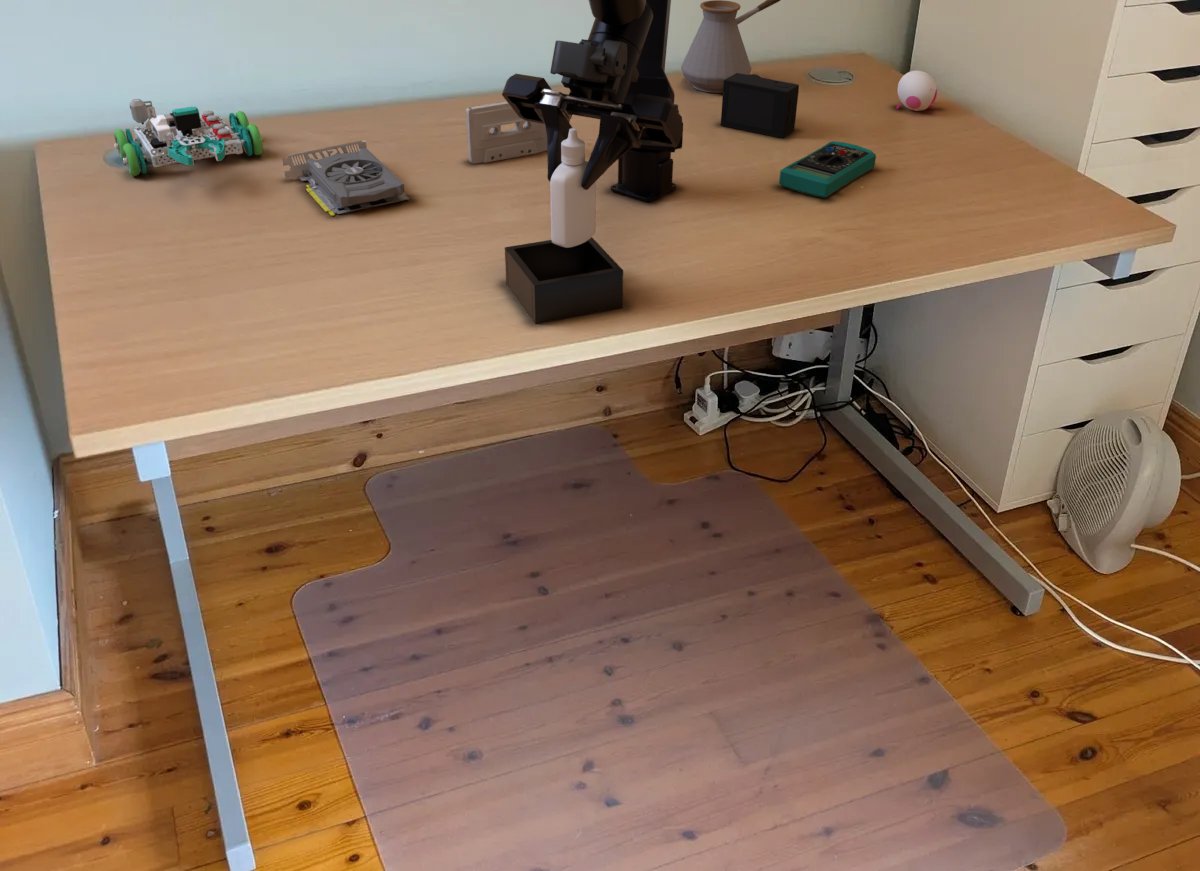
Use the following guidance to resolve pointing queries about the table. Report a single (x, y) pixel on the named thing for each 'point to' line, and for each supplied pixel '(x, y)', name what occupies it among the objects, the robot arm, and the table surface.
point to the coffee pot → (718, 46)
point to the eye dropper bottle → (572, 196)
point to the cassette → (501, 134)
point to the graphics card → (346, 179)
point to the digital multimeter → (827, 169)
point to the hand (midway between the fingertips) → (567, 184)
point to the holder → (563, 279)
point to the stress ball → (917, 91)
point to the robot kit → (183, 137)
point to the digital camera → (759, 104)
